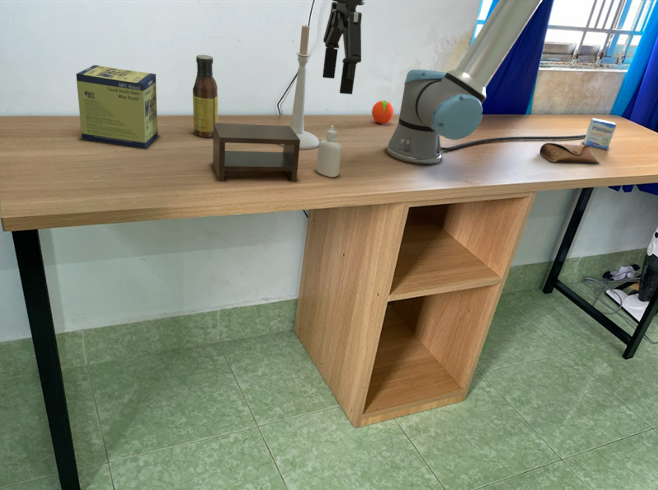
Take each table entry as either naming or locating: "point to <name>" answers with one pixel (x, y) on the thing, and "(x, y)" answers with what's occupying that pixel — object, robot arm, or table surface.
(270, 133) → the dark brown wooden stand
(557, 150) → the sunglasses case
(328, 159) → the eye dropper bottle
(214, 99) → the sauce bottle
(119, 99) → the protein box
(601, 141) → the medicine box
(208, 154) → the table surface
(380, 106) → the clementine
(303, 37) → the candlestick
